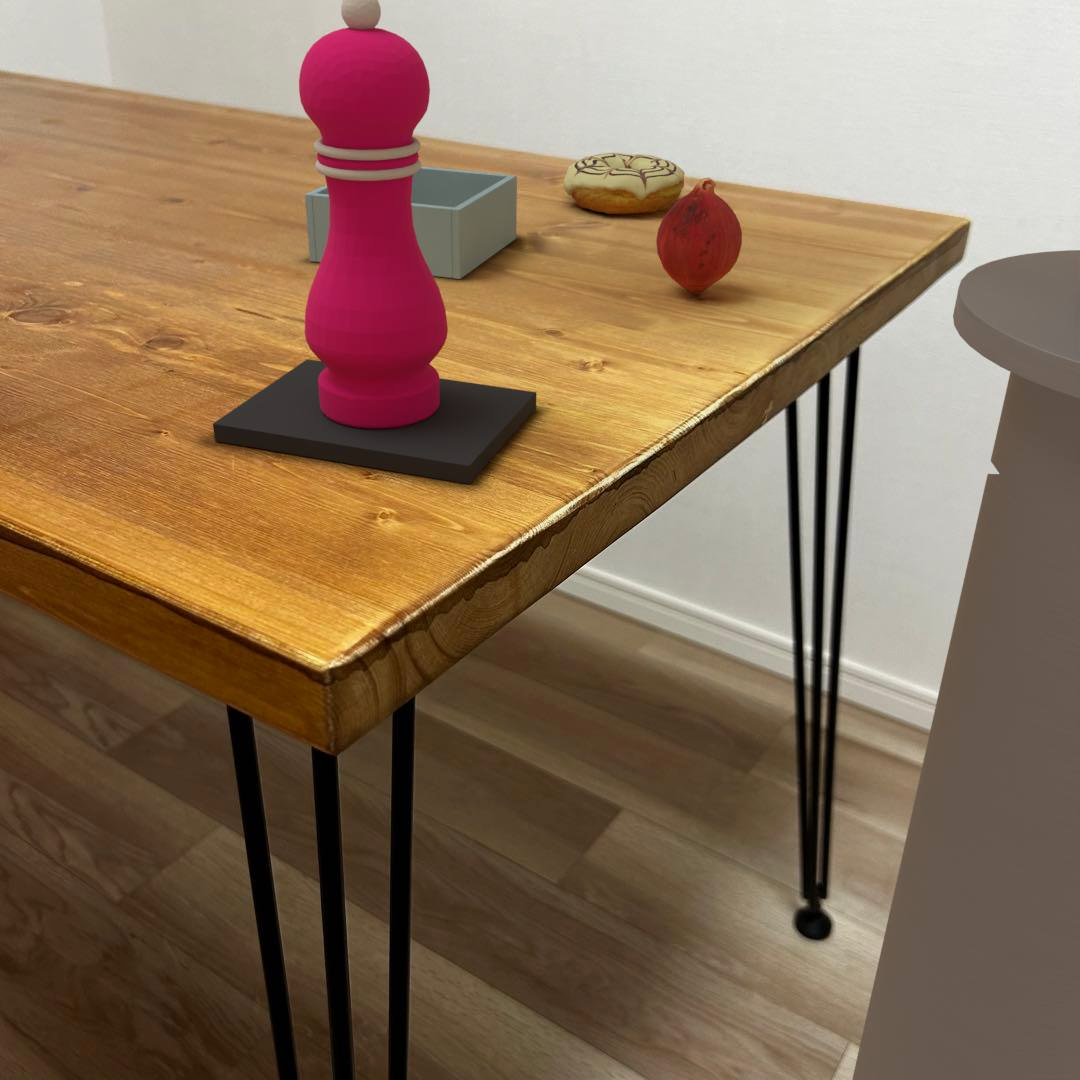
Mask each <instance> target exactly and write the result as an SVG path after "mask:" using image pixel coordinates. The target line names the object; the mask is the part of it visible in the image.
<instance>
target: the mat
mask: <svg viewBox="0 0 1080 1080" xmlns="http://www.w3.org/2000/svg"><path fill="white" fill-rule="evenodd" d="M326 367H327V366H326V365H325V364H324V363H323V362H322V361H321V360H315V359H309V358H308V359H305V360H304V361H302V362H301V363H299V364H298V365H297V366H296V367H294V368H292V369H290V370H289V371H288V372H286V373H284V375H282V376H281V377H278V378H277V379H276V380H275V381H273V382H272V383H270V384H268V385H267V386H266V387H264V388H263V389H262V390H261V389H260V391H258V392H256V394H254V395H253V396H251V397H250V398H248V399H247V400H245V401H244V402H241V404H240V405H238V406H236V407H235V408H233V409H232V410H230V411H229V412H227V413H226V414H225V415H223V416H222V417H220V418H219V419H218V420H216V421H214V422H213V423H212V429H213V436H214V437H213V438H214V441H215V442H218V443H224V444H229V445H230V444H231V445H236V446H240V447H241V446H242V447H248V448H253V449H259V450H265V451H273V452H278V453H283V454H289V455H296V456H301V457H305V458H307V457H308V458H313V459H318V460H325V461H330V462H336V463H342V464H348V465H353V466H359V467H364V468H365V467H366V468H372V469H378V470H384V471H389V472H396V473H401V474H407V475H414V476H418V477H425V478H432V479H437V480H443V481H450V482H454V483H459V484H466V485H467V484H468V485H470V484H471V483H472V482H473V481H474V480H475V478H477V477H478V475H479V474H480V473H481V472H482V471H483V470H484V468H485V467H486V466H487V465H488V464H489V463H490V462H491V461H492V460H493V458H494V457H495V456H496V455H497V453H499V452H500V450H501V449H502V448H503V447H504V446H505V445H506V443H508V442H509V440H510V439H511V438H512V437H513V436H514V435H515V433H517V431H518V430H519V429H520V428H521V427H522V425H524V423H525V422H526V421H527V420H528V419H529V418H530V416H531V415H532V414H533V413H534V412H535V411H536V410H537V392H536V391H531V390H523V389H517V388H509V387H503V386H497V385H496V386H495V385H489V384H481V383H474V382H468V381H460V380H454V379H447V378H440V377H439V390H440V404H439V407H438V408H437V410H436V412H435V413H434V414H432V415H431V416H430V417H428V418H427V419H424V420H422V421H420V422H417V423H414V424H411V425H407V426H402V427H395V428H382V429H370V428H357V427H352V426H347V425H343V424H340V423H337V422H335V421H333V420H331V419H329V418H327V417H326V415H325V414H324V413H323V412H322V410H321V407H320V398H319V385H318V377H319V375H320V373H321V372H322V371H323V370H324V369H325V368H326Z"/></svg>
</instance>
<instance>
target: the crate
mask: <svg viewBox="0 0 1080 1080" xmlns="http://www.w3.org/2000/svg"><path fill="white" fill-rule="evenodd" d="M304 201H305V214H306V227H307V228H306V229H307V238H308V242H307V243H308V254H309V261H310V262H312V263H313V262H314V263H320V262H321V260H322V257H323V254H324V250H325V247H326V244H327V239H328V232H329V226H330V200H329V194H328V189H327V184H325V185H322V186H320V187H318V188H316V189H313V190H311V191H309V192H307V193H305V194H304ZM517 203H518V175H516V174H504V173H495V172H482V171H473V170H461V169H451V168H441V167H429V166H421V169H420V170H419V171H418V172H417V173H415V174H413V179H412V194H411V205H412V217H413V226H414V230H415V234H416V238H417V242H418V245H419V247H420V250H421V252H422V254H423V257H424V259H425V261H426V263H427V265H428V267H429V269H430V271H431V273H432V275H433V277H438V278H445V279H446V278H447V279H454V280H455V279H456V280H462V279H463V278H464V277H466V276H467V275H468V274H469V273H471V272H473V271H474V270H475V269H477V268H478V267H479V266H481V265H482V264H483V263H484V262H486V261H487V260H489V259H490V258H491V257H493V256H494V255H495V254H497V253H498V252H500V251H502V249H504V248H505V247H507V246H508V245H510V244H511V243H512V242H513V241H515V240H516V239H517V213H518V212H517V211H518V210H517V209H518V207H517V206H518V204H517Z"/></svg>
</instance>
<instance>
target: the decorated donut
mask: <svg viewBox="0 0 1080 1080" xmlns="http://www.w3.org/2000/svg"><path fill="white" fill-rule="evenodd" d="M684 186H685V171H684V169H682V168H681V167H680V166H679V165H677V164H675V163H674V162H672V161H670V160H667V159H663V158H661V157H657V156H655V155H650V154H631V153H623V152H622V153H621V152H605V153H599V154H598V153H597V154H593V155H589V156H585V157H583V158H581V159H579V160H577V161H575V162H573V163H572V164H570V165H569V166H568V168H567V170H566V173H565V177H564V179H563V189H564V190H565V192H566V194H567V195H568V196H571V197H572V199H573V200H574V202H576V203H577V204H578V206H579V207H580V208H581V209H588V210H591V211H593V212H597V213H605V214H608V215H629V214H630V215H631V214H643V213H646V214H652V213H655V212H656V211H664V210H665V209H666V208H668V207H670V206H673V205H674V204H675V203H676V202H677V201H678V200H679V198H680V195H681V193H682V190H683V189H684V188H685V187H684Z"/></svg>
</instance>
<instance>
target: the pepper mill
mask: <svg viewBox="0 0 1080 1080" xmlns="http://www.w3.org/2000/svg"><path fill="white" fill-rule="evenodd" d="M381 10H382V9H381V5H380V2H379V0H342V2H341V6H340V14H341V18H342V21H344V24H345V25H346V26H347V27H344V28H340V29H337V30H336V29H335V30H333V31H331V32H329V33H327V34H325V35H323V36H321V37H320V38H319V39H318V40H317V41H315V42H314V43H313V44H312V45H311V46H310V48H309V49H308V51H307V52H306V53H305V55H304V58H303V60H302V63H301V67H300V71H299V77H298V92H299V93H298V94H299V100H300V104H301V106H302V108H303V110H304V113H305V114H306V116H308V118H309V119H310V121H312V123H313V124H314V125H315V127H316V128H317V129H318V130H319V133H320V136H321V137H319V138H317V139H316V140H315V141H314V143H313V149H314V151H315V152H316V159H317V160H316V162H315V165H314V166H315V167H314V168H315V170H316V171H317V172H318V173H319V174H320V175H323V176H324V179H325V183H326V185H327V189H328V194H329V200H330V226H329V232H328V239H327V244H326V247H325V250H324V254H323V257H322V260H321V262H319V265H318V267H317V270H316V273H315V275H314V278H313V281H312V284H311V286H310V289H309V292H308V296H307V299H306V304H305V305H306V306H305V312H304V337H305V342H306V344H307V345H308V347H309V350H310V351H311V352H312V354H314V355H315V356H316V358H317V359H318V360H319V361H322V362H323V363H324V364H325V365H326V366H327V367H326V368H325V369H324V370H323V371H322V372H321V373H320V375H319V377H318V385H319V398H320V407H321V410H322V412H323V413H324V414H325V415H326V417H327V418H329V419H331V420H333V421H335V422H337V423H340V424H343V425H347V426H352V427H357V428H370V429H382V428H395V427H402V426H407V425H411V424H414V423H417V422H420V421H422V420H424V419H427V418H428V417H430V416H431V415H432V414H434V413H435V412H436V410H437V408H438V407H439V404H440V390H439V378H440V374H439V372H438V370H437V369H436V368H435V367H434V366H433V365H431V362H433V360H434V359H435V358H436V357H437V356H438V355H439V353H440V352H441V351H442V349H443V347H444V346H445V343H446V341H447V338H448V330H449V329H448V319H447V311H446V306H445V303H444V300H443V296H442V295H441V294H442V293H441V291H440V288H439V285H438V283H437V281H436V279H435V276H433V275H432V273H431V271H430V269H429V267H428V265H427V263H426V261H425V259H424V257H423V254H422V252H421V250H420V247H419V245H418V242H417V238H416V234H415V230H414V226H413V217H412V205H411V194H412V179H413V174H415V173H417V172H418V171H419V170H420V169H421V167H422V162H421V160H420V155H419V151H420V150H421V148H422V144H421V141H420V140H419V139H418V138H417V137H414V136H413V135H414V132H415V130H416V128H417V126H418V125H419V124H420V122H421V121H422V120H423V118H424V116H425V115H426V113H427V112H428V107H429V104H430V95H431V94H430V93H431V87H430V86H431V85H430V79H429V75H428V71H427V67H426V65H425V62H424V59H423V58H422V56H421V55H420V53H419V52H418V50H417V49H416V48H415V47H414V46H413V45H412V43H410V42H409V41H408V40H407V39H405V38H404V37H402V36H400V35H399V34H397V33H394V32H392V31H390V30H386V29H383V28H379V27H376V26H377V25H378V24H379V22H380V19H381V16H382V11H381Z"/></svg>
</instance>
